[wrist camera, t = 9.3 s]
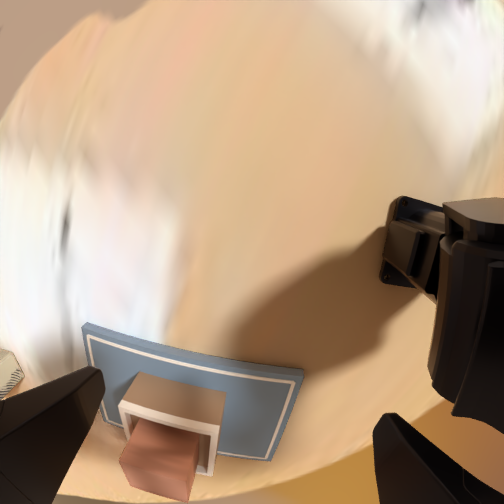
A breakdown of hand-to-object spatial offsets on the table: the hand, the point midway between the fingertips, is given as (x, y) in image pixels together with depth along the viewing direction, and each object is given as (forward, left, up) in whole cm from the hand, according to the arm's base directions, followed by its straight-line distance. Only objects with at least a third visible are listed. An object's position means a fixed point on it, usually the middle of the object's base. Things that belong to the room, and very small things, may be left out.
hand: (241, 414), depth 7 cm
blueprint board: (+5, +15, -13) cm, 20 cm away
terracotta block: (+5, +15, -8) cm, 18 cm away
